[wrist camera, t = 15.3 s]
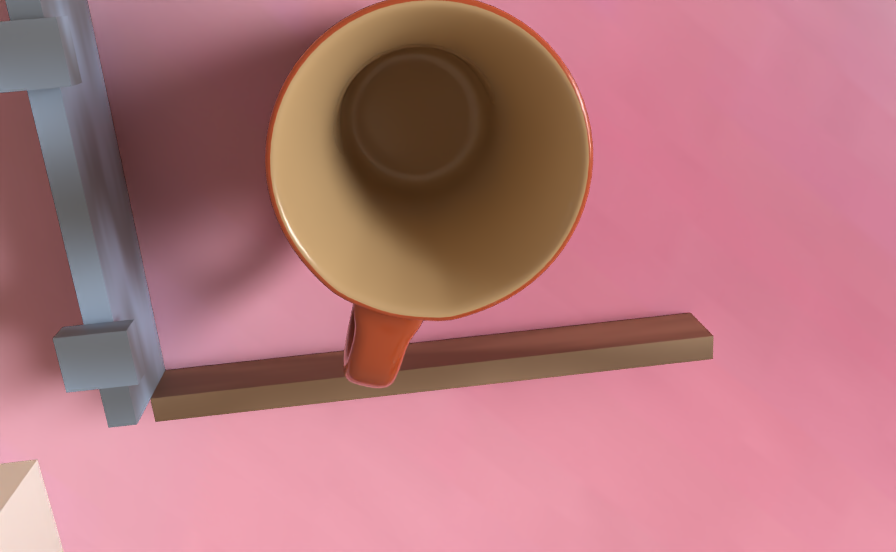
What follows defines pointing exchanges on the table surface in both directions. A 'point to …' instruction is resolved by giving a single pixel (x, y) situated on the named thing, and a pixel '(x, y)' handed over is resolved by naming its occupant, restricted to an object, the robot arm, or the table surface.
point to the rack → (127, 297)
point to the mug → (426, 167)
